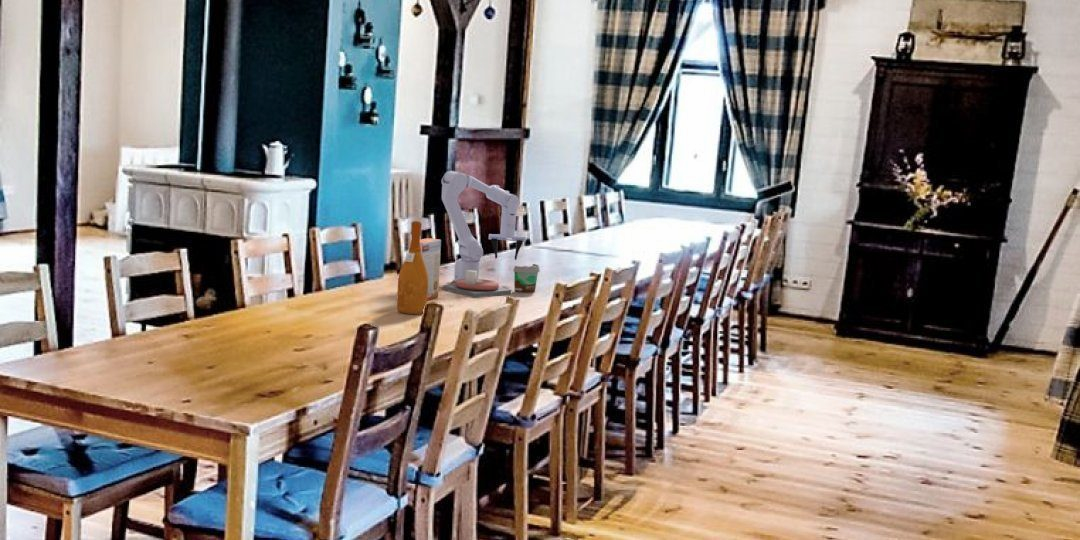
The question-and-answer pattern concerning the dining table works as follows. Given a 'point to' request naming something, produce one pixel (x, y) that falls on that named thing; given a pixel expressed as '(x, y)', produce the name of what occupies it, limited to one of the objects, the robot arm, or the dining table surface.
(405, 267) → the wine bottle
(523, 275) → the food container
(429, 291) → the cracker box
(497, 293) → the base plate
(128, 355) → the dining table surface
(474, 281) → the handwheel
